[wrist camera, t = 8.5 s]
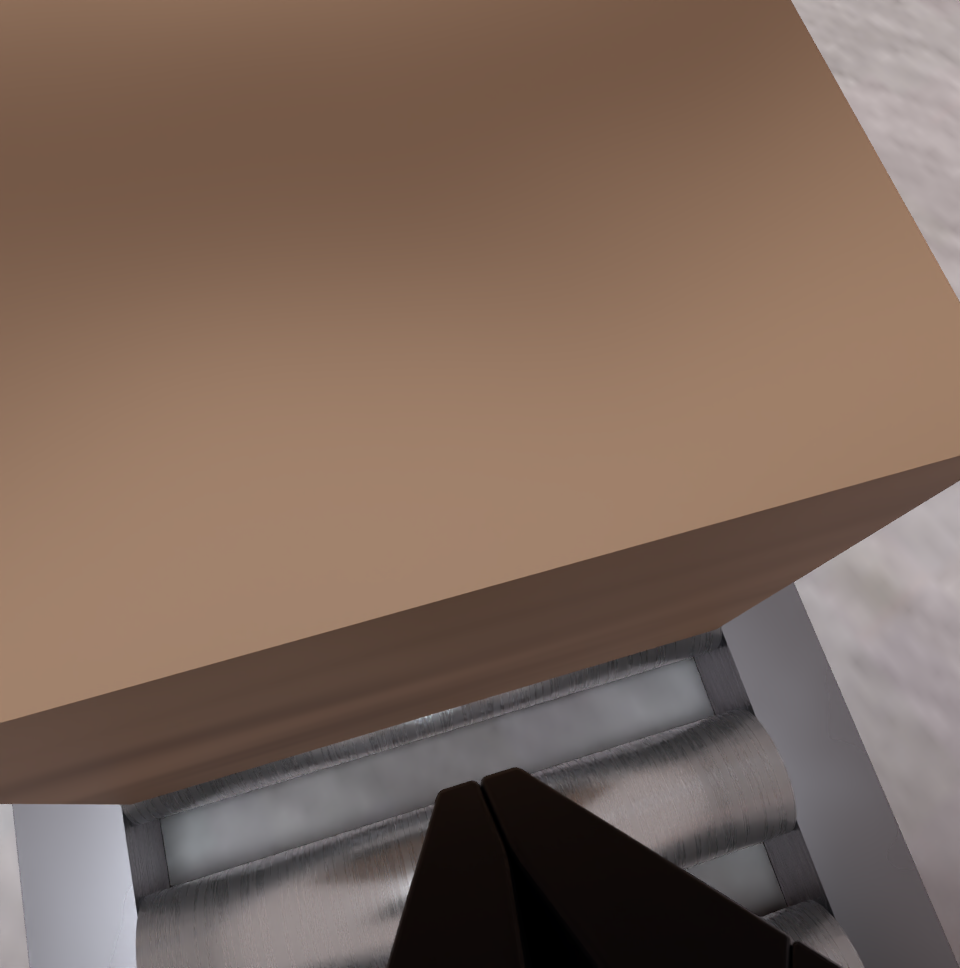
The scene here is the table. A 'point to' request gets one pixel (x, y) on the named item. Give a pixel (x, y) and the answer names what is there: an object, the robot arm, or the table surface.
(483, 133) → the brown cardboard box
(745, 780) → the roller bed
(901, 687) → the table surface
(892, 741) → the table surface
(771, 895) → the table surface
